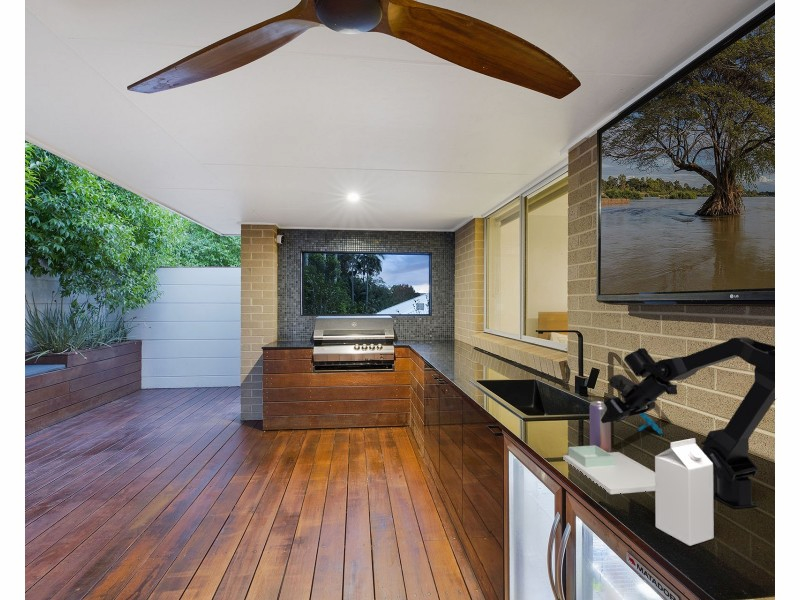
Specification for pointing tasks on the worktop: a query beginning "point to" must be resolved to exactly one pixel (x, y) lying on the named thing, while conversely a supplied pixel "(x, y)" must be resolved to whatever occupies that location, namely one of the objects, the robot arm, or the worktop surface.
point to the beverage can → (599, 427)
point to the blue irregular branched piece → (648, 423)
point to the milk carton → (684, 493)
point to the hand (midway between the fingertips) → (610, 419)
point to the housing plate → (611, 470)
